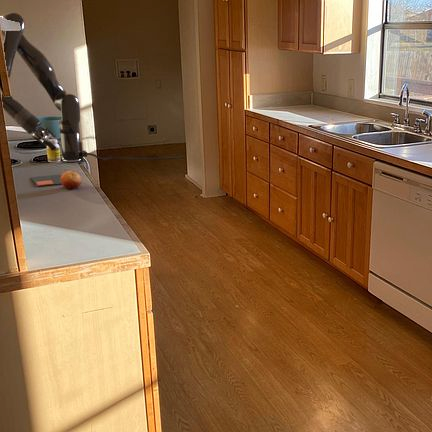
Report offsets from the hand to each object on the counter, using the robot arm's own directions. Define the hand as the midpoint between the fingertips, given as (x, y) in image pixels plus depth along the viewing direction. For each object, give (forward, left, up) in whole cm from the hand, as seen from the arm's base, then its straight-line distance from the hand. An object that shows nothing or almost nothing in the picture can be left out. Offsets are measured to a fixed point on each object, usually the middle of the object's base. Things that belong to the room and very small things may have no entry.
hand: (57, 147), depth 257 cm
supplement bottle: (+2, -1, -6) cm, 7 cm away
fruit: (+1, +29, -12) cm, 32 cm away
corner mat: (+5, +13, -12) cm, 18 cm away
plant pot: (-12, -89, -12) cm, 90 cm away
